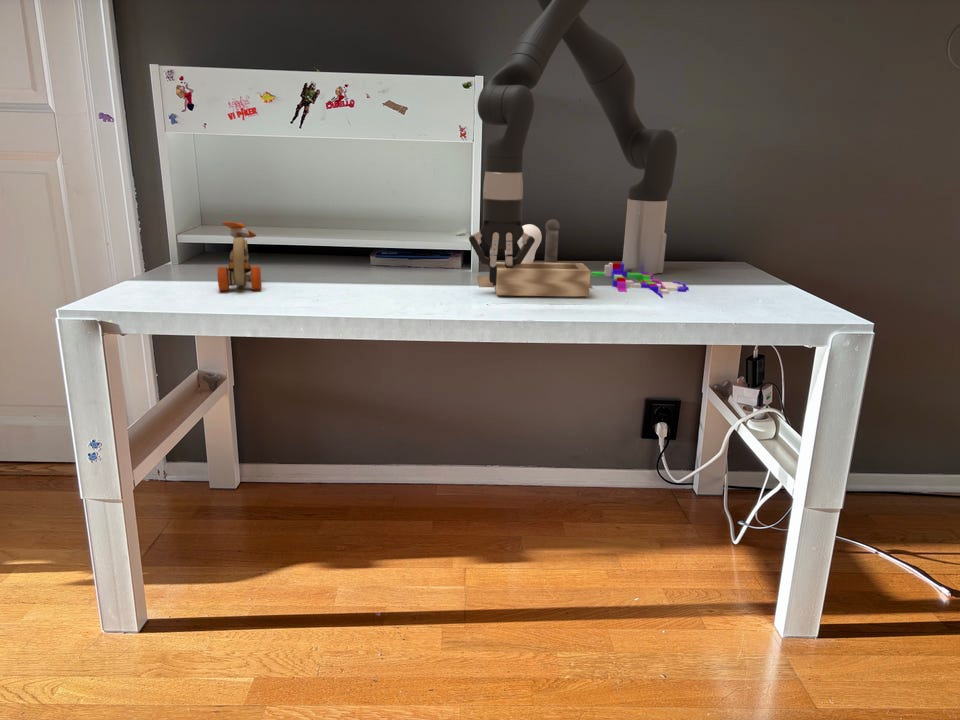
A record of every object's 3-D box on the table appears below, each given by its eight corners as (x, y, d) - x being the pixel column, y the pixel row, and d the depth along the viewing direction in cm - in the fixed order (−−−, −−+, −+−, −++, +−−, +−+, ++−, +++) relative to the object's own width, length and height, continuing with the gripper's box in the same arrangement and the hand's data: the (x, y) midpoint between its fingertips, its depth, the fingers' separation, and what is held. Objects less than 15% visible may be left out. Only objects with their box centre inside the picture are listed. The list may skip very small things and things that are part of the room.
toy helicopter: (218, 294, 138) (211, 224, 134) (224, 274, 157) (219, 212, 153) (261, 293, 140) (256, 223, 136) (262, 273, 159) (258, 212, 155)
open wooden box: (580, 287, 146) (582, 263, 144) (588, 296, 137) (590, 270, 136) (494, 285, 145) (494, 261, 143) (497, 295, 136) (497, 269, 135)
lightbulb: (532, 273, 167) (535, 226, 164) (510, 270, 170) (512, 224, 167) (544, 269, 172) (546, 224, 169) (522, 266, 175) (524, 222, 172)
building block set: (696, 302, 144) (699, 280, 142) (595, 298, 145) (597, 277, 144) (675, 279, 167) (677, 260, 166) (588, 275, 169) (590, 257, 168)
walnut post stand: (583, 282, 158) (587, 217, 153) (593, 293, 147) (598, 223, 143) (476, 281, 156) (478, 215, 152) (479, 291, 146) (480, 221, 142)
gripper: (536, 195, 139) (532, 281, 144) (466, 194, 138) (465, 280, 143) (540, 198, 132) (536, 289, 137) (467, 197, 131) (466, 288, 136)
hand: (500, 284), depth 140 cm, fingers closed on open wooden box
